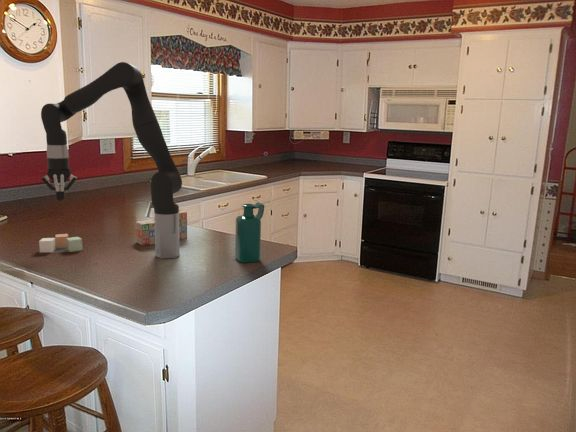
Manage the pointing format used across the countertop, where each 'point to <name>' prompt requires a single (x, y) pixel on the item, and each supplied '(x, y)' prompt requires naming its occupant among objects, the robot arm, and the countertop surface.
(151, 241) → the stack of blocks
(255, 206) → the pitcher
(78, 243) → the sage cube
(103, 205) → the countertop surface
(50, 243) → the cream cube
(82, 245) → the mat
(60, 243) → the terracotta cube
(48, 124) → the robot arm
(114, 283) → the countertop surface
